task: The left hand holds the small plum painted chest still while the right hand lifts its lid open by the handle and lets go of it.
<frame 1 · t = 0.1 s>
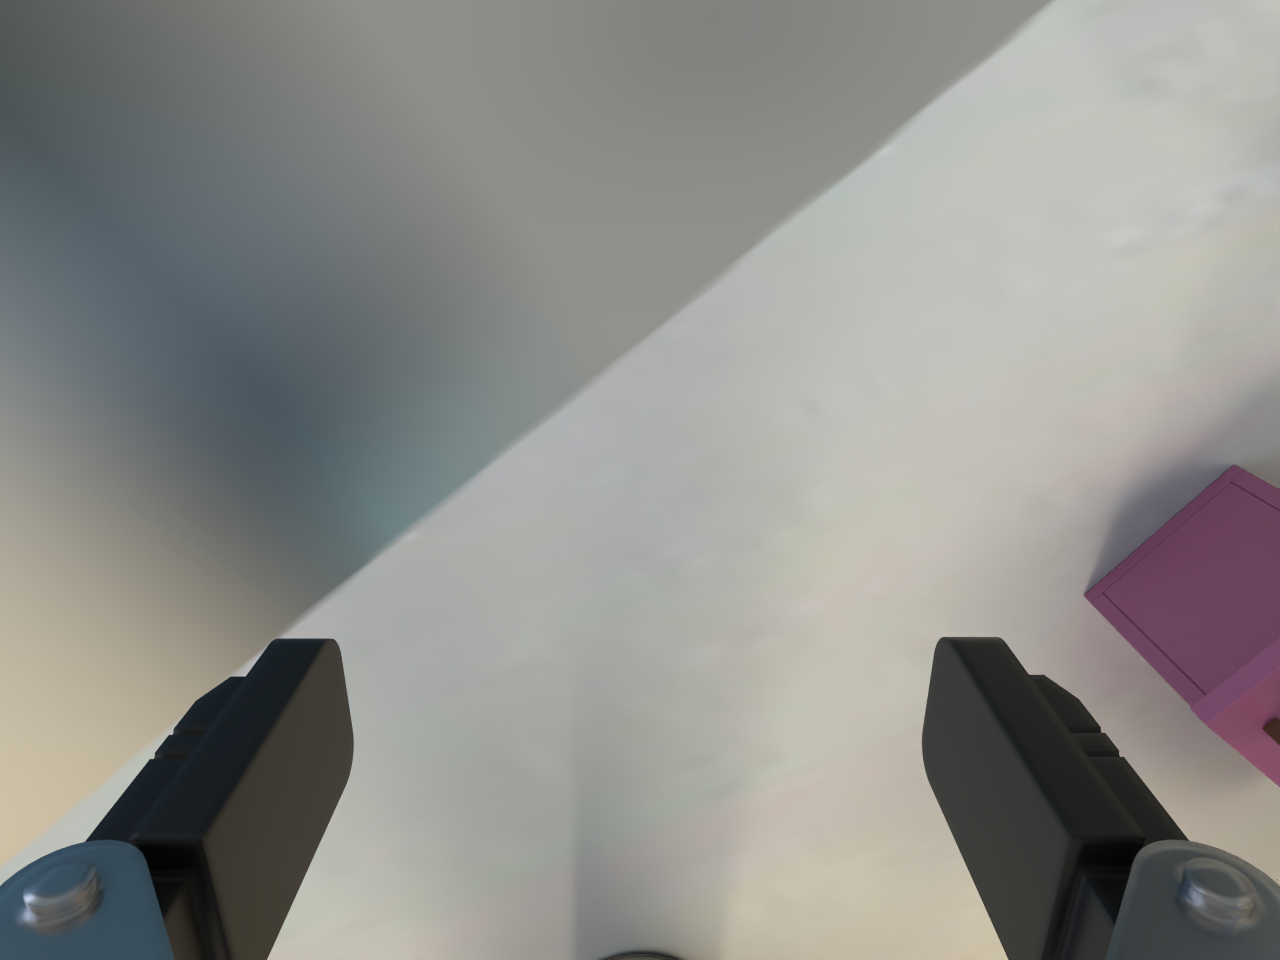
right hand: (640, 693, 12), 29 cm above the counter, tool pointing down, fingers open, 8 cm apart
chest: (1261, 627, 45), on the counter
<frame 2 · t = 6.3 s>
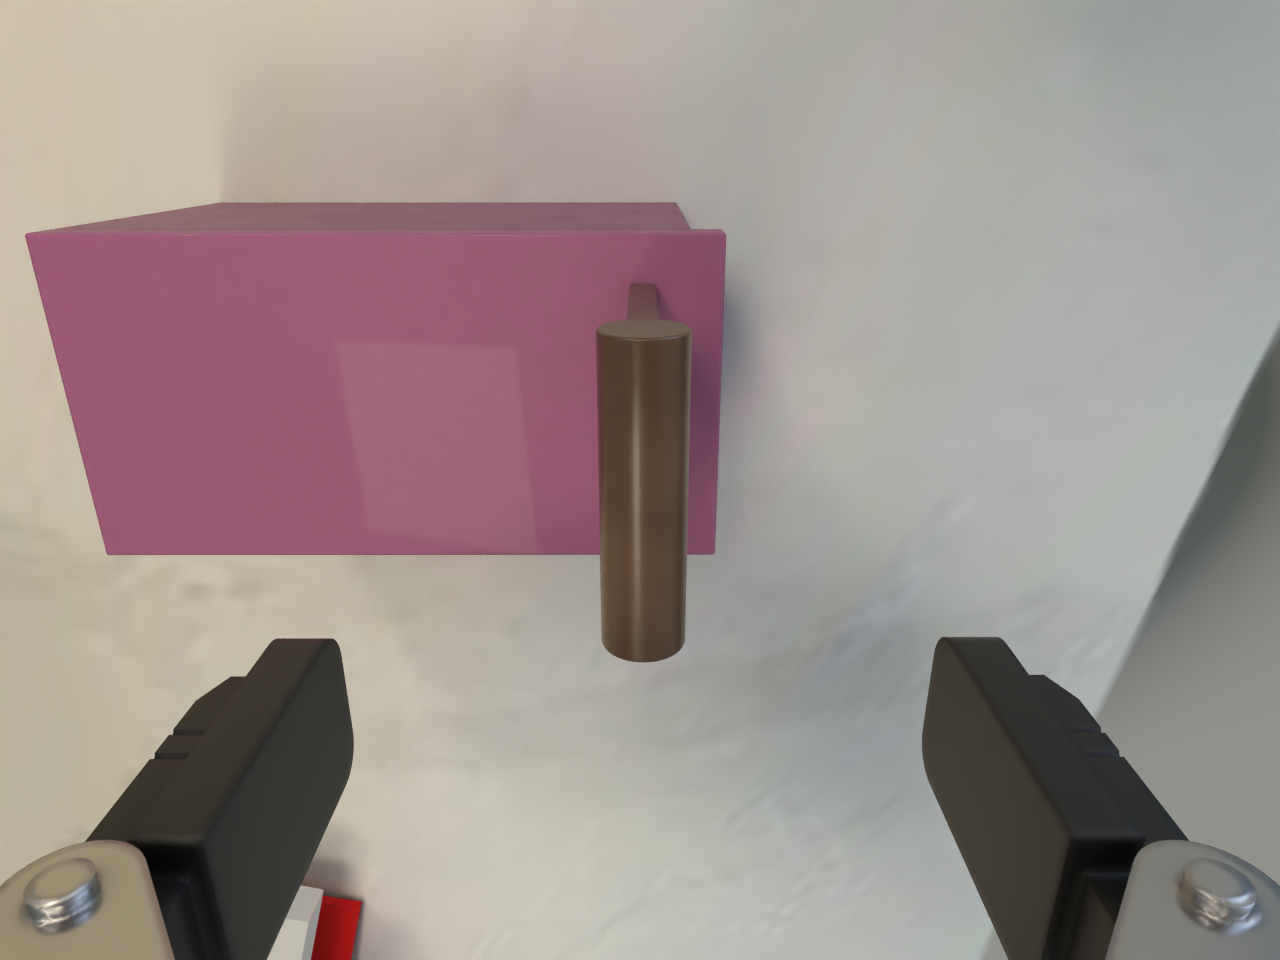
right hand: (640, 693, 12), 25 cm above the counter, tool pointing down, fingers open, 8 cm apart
chest: (457, 324, 35), on the counter
lid: (360, 443, 21), point 14 cm above the counter, hinge at 0.0°
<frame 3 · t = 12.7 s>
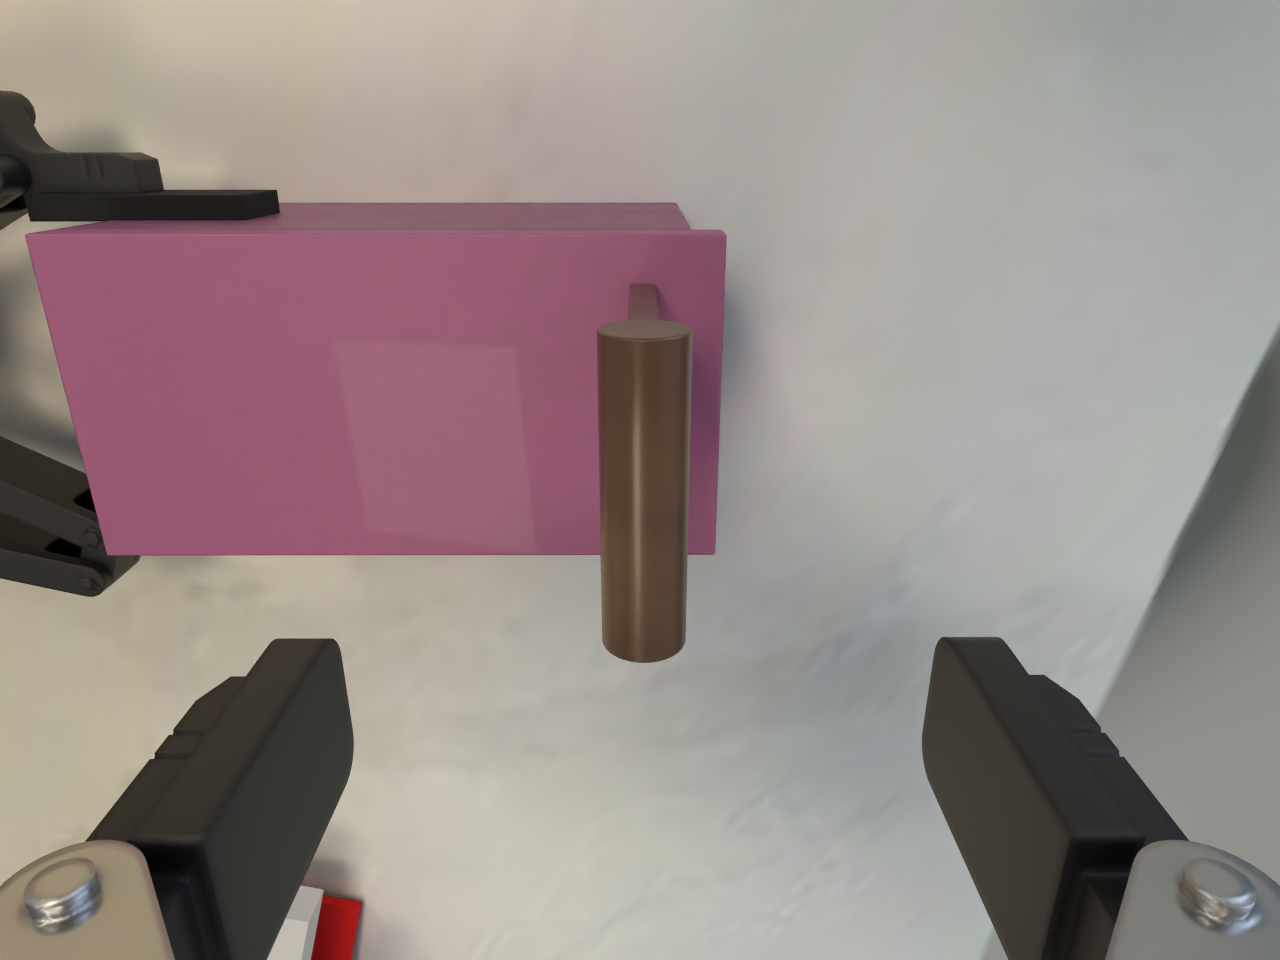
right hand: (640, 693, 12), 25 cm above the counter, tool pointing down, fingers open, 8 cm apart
chest: (457, 325, 35), on the counter, touching left hand
lid: (360, 443, 21), point 14 cm above the counter, hinge at 0.0°
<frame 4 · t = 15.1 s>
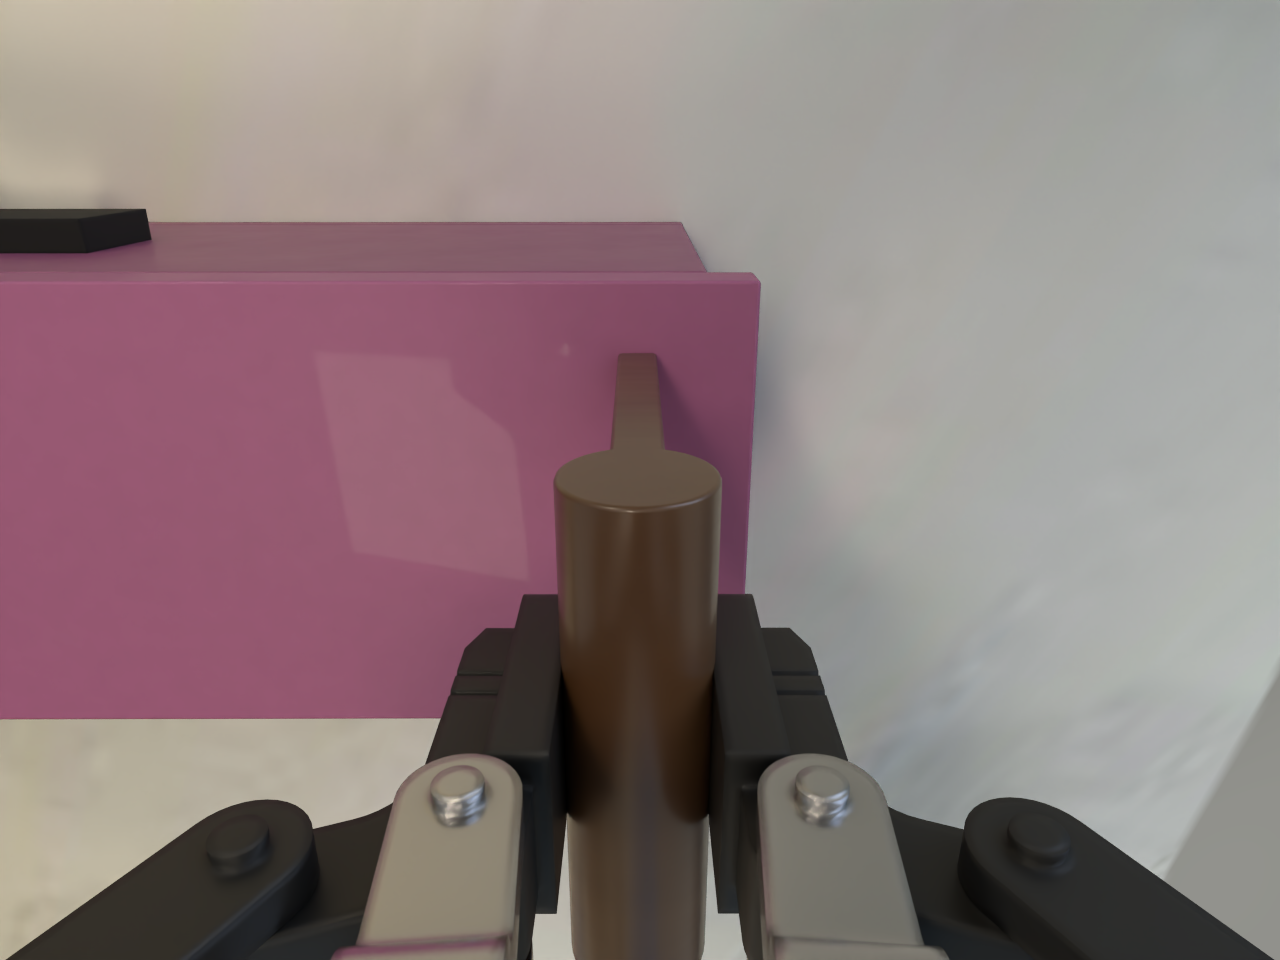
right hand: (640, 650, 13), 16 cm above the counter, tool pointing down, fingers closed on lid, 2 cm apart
chest: (404, 375, 27), on the counter, touching left hand
lid: (208, 604, 14), point 14 cm above the counter, hinge at 0.1°, touching right hand
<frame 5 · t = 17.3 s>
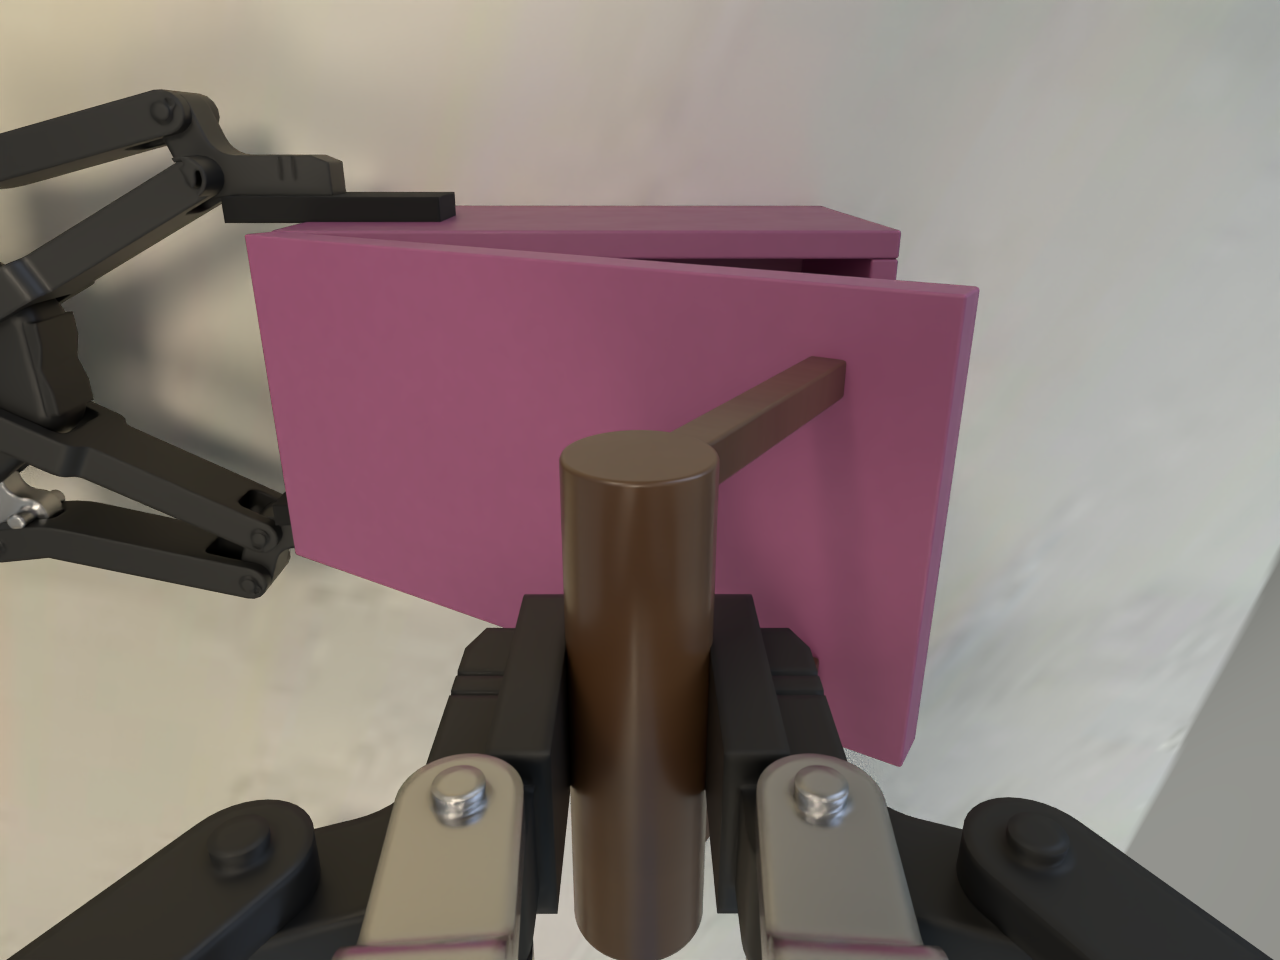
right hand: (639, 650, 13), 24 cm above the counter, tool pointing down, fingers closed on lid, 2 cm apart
left hand: (459, 362, 29), fingers closed on chest, 9 cm apart
chest: (598, 326, 35), on the counter, touching left hand
lid: (429, 511, 17), point 19 cm above the counter, hinge at 32.7°, touching right hand
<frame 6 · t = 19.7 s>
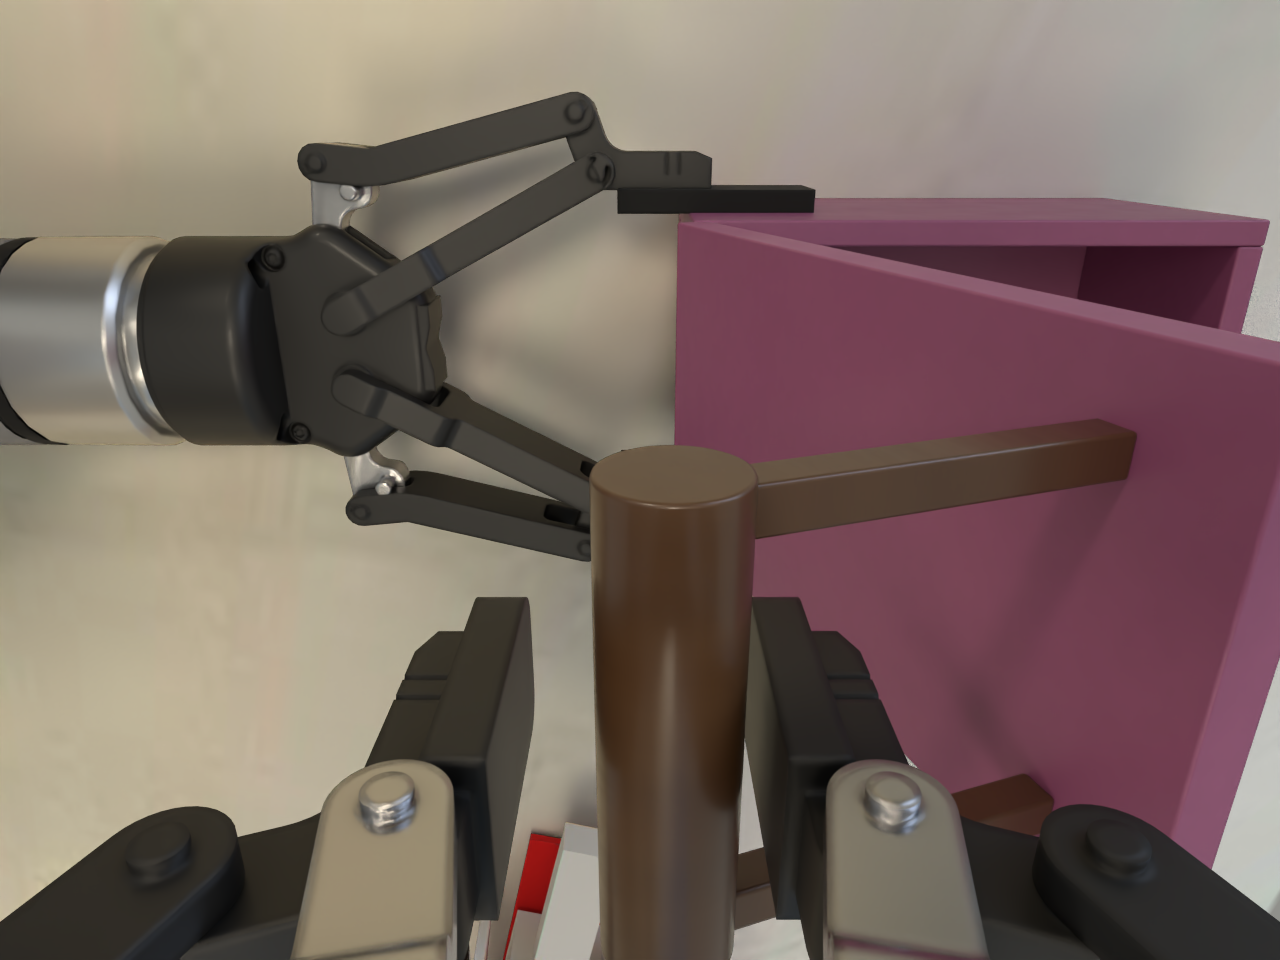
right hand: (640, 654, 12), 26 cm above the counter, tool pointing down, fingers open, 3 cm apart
left hand: (797, 343, 31), fingers closed on chest, 9 cm apart
chest: (880, 312, 37), on the counter, touching left hand
lid: (695, 497, 18), point 21 cm above the counter, hinge at 70.4°
when the left hand's fingers open (6 cm above the counter, at t = 24.0 s): chest stays where it is, on the counter.
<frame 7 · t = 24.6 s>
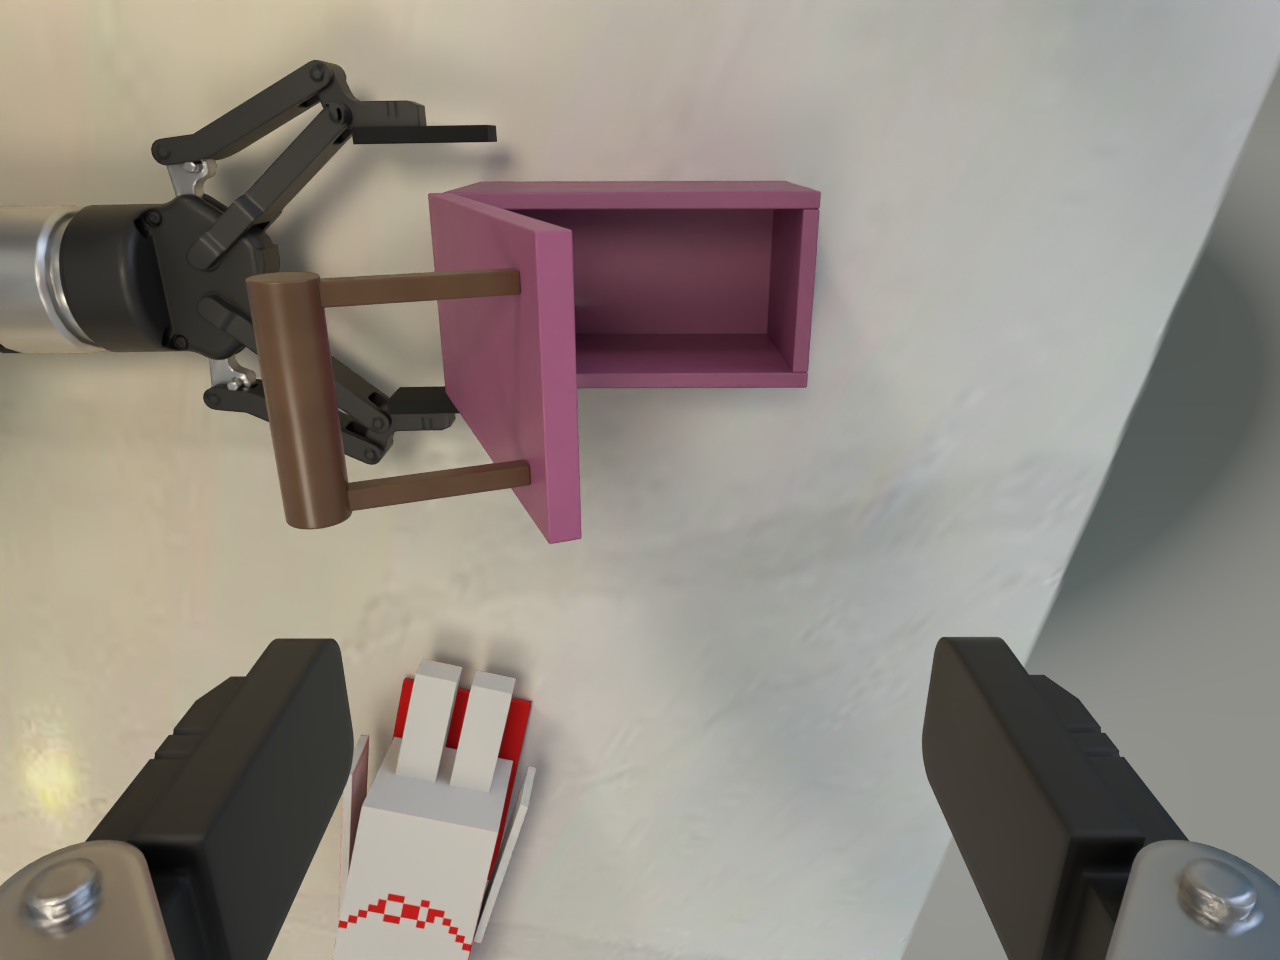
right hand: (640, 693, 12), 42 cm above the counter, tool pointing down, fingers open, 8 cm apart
left hand: (503, 273, 45), fingers open, 13 cm apart
chest: (633, 265, 51), on the counter
toy: (441, 805, 66), on the counter
lid: (391, 343, 32), point 21 cm above the counter, hinge at 68.3°
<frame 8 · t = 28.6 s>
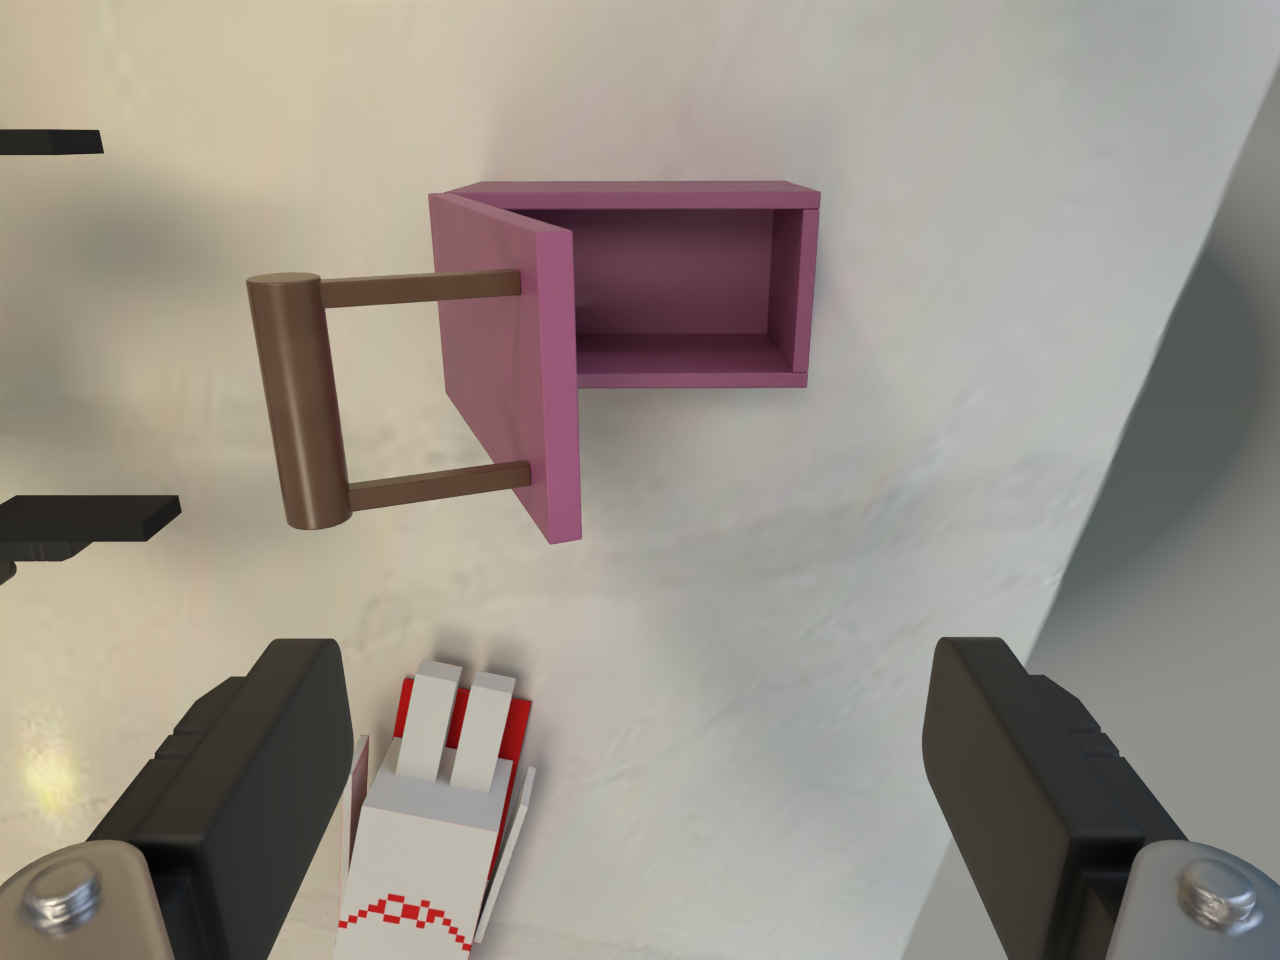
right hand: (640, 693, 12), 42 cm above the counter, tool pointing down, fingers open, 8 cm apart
chest: (633, 265, 51), on the counter
toy: (441, 805, 66), on the counter
lid: (391, 343, 32), point 21 cm above the counter, hinge at 68.3°
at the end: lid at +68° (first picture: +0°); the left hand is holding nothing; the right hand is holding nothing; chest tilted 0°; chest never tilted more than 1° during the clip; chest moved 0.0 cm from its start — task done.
